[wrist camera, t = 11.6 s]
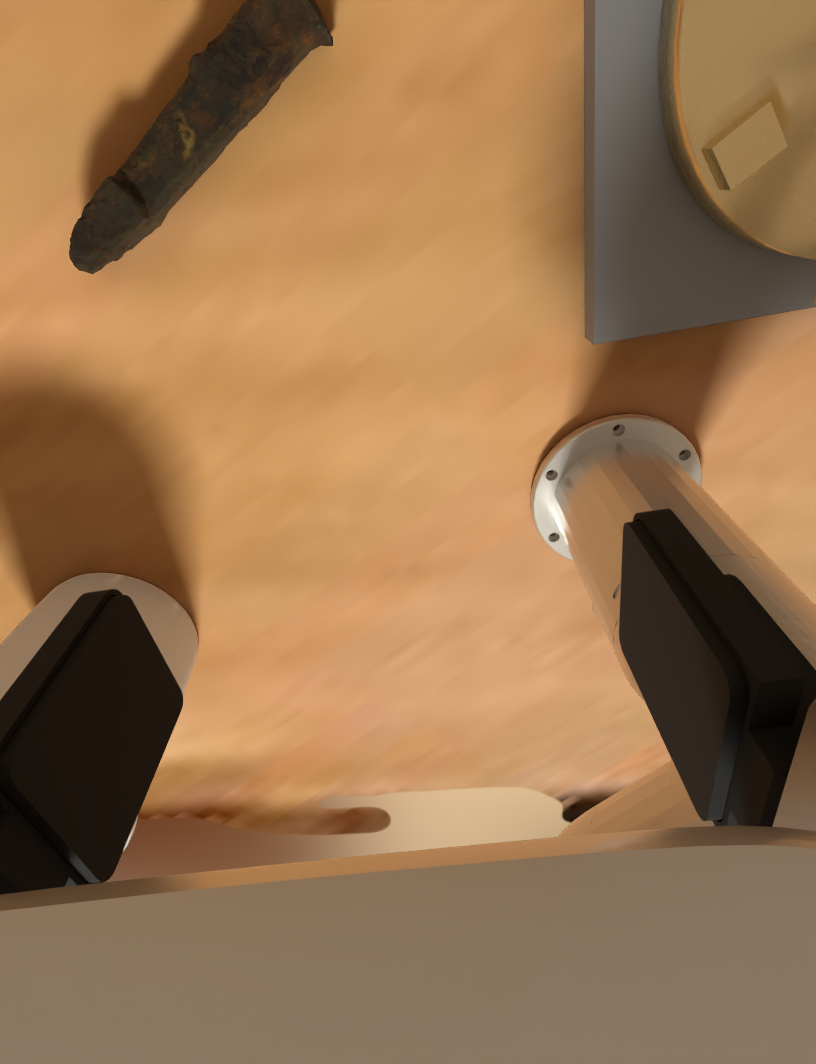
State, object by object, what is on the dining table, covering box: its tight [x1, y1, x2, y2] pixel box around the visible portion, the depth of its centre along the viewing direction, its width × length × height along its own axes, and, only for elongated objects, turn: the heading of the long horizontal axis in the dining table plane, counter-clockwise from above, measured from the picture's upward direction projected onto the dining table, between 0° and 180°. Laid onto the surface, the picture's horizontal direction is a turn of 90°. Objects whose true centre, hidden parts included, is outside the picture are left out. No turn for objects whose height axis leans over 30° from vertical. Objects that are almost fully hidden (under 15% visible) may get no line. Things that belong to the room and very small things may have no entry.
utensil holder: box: [0, 573, 198, 851], centre depth 44 cm, size 15×15×18 cm
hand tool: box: [69, 0, 333, 274], centre depth 30 cm, size 19×4×5 cm, turn 128°
